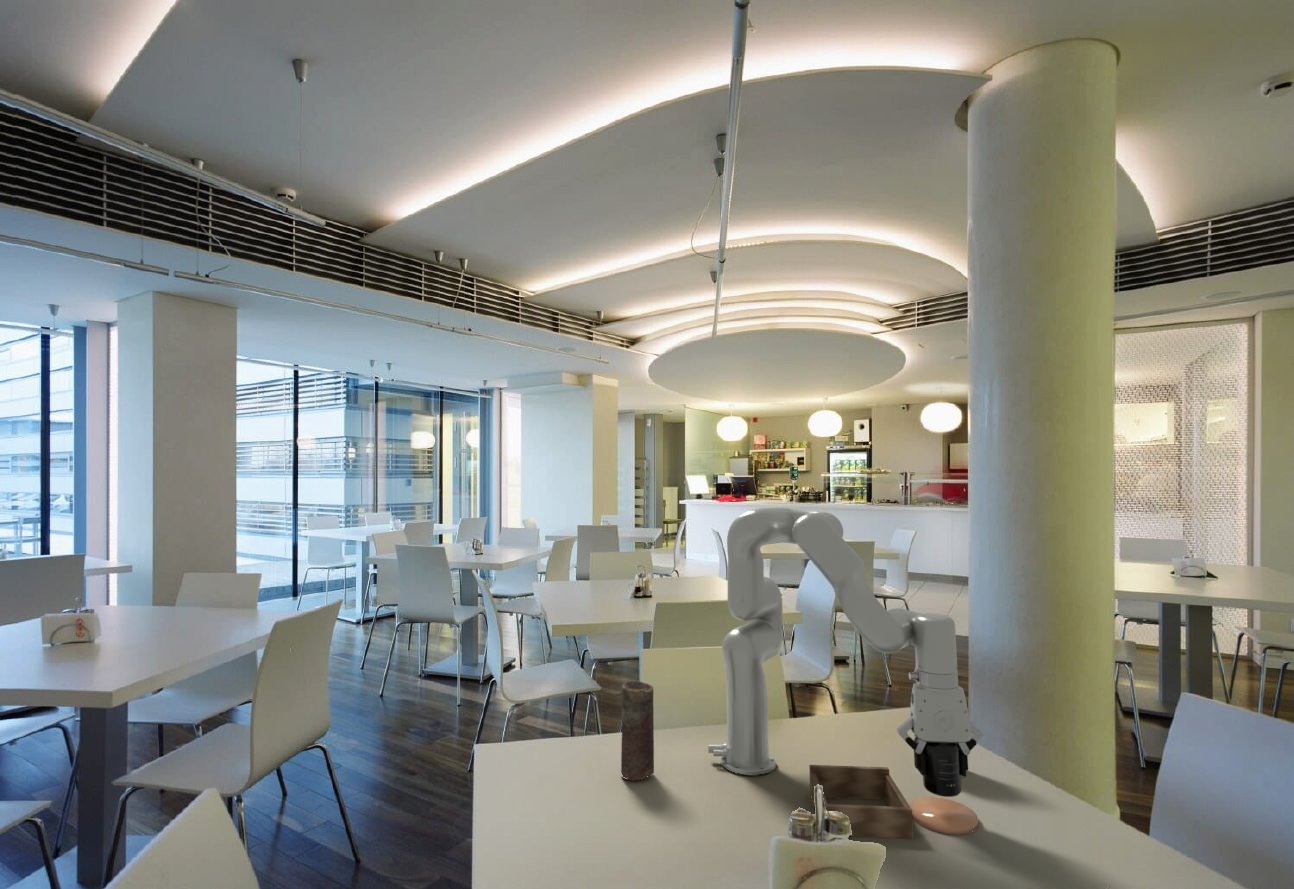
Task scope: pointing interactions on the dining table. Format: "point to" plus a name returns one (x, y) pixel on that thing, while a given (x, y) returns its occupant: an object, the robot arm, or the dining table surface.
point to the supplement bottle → (942, 769)
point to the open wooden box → (865, 786)
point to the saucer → (943, 815)
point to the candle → (637, 730)
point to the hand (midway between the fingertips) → (941, 772)
